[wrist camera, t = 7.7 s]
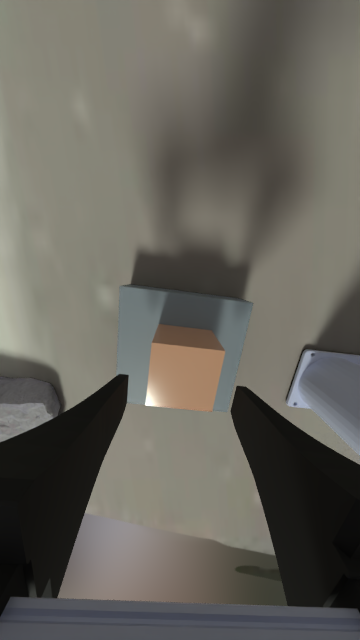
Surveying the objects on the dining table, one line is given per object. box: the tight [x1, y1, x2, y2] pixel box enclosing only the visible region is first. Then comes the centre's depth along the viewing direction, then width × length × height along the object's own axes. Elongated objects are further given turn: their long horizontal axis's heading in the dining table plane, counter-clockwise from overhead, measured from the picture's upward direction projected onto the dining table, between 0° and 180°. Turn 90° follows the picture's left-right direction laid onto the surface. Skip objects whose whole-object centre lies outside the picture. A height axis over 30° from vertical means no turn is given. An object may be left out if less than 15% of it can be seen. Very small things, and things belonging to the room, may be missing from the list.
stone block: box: [0, 377, 61, 442], centre depth 21 cm, size 12×5×10 cm
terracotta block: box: [146, 324, 225, 412], centre depth 14 cm, size 5×5×4 cm
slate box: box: [116, 284, 253, 412], centre depth 18 cm, size 12×12×4 cm
